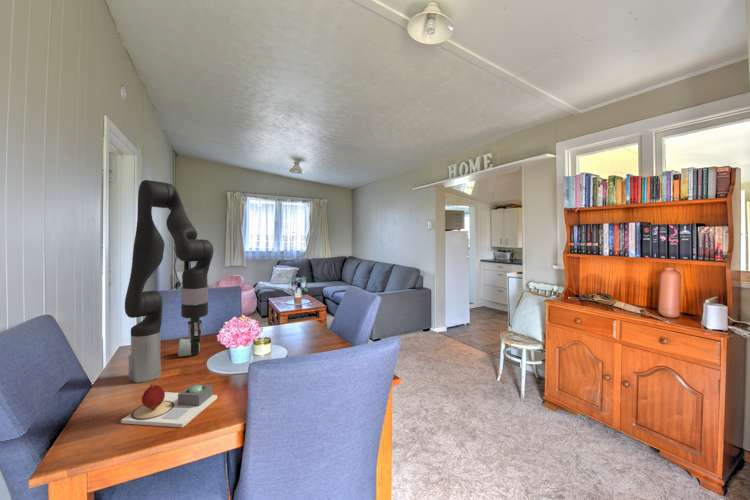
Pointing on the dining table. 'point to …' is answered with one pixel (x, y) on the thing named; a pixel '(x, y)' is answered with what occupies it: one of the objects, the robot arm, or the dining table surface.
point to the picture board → (167, 412)
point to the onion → (153, 396)
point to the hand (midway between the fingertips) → (194, 354)
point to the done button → (195, 389)
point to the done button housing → (194, 396)
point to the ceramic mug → (185, 347)
